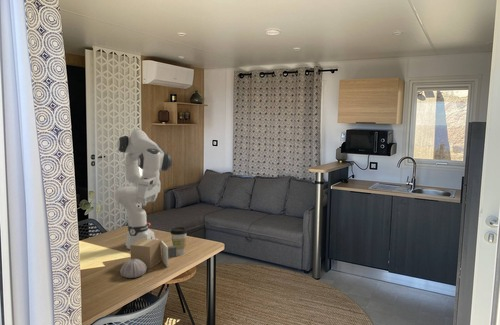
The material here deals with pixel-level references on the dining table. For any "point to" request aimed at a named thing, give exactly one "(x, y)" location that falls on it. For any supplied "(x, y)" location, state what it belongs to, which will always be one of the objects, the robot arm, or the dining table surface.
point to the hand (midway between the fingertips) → (148, 203)
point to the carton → (146, 251)
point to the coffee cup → (179, 239)
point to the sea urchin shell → (133, 268)
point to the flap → (167, 252)
